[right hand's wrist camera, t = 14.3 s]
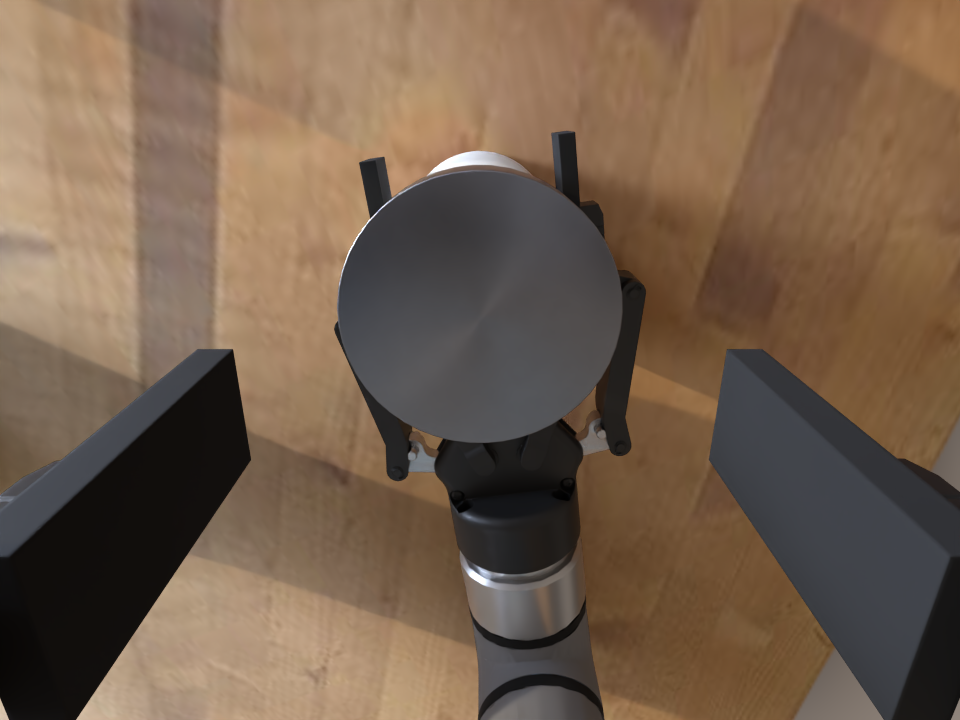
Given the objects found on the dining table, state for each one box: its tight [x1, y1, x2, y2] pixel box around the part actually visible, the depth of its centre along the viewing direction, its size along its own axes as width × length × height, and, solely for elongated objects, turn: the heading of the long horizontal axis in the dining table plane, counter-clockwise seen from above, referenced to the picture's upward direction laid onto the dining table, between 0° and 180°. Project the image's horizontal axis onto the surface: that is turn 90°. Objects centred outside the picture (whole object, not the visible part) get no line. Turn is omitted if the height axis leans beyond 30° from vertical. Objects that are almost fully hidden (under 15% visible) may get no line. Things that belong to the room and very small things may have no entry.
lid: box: [337, 165, 623, 443], centre depth 20 cm, size 9×9×2 cm
